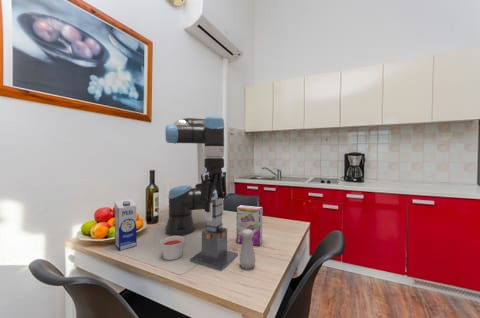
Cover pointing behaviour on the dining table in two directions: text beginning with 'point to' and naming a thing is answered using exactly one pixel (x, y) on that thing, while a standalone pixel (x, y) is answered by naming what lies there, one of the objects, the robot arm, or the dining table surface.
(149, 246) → the dining table surface
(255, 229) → the candy bar box
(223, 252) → the stand base
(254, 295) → the dining table surface
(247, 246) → the salt shaker
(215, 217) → the column
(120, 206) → the milk carton
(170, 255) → the candle
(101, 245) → the dining table surface
